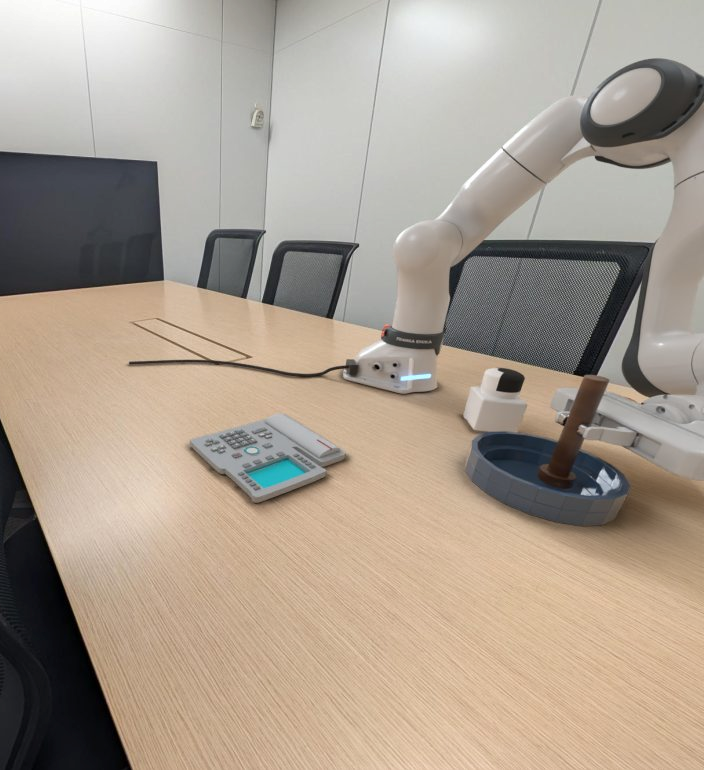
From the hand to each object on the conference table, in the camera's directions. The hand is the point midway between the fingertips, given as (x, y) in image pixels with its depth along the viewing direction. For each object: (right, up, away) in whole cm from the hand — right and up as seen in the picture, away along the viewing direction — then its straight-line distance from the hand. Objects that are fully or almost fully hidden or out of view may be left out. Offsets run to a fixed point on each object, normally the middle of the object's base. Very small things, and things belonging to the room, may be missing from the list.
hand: (570, 425), depth 53 cm
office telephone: (-39, -7, +16) cm, 43 cm away
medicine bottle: (+7, -3, +23) cm, 24 cm away
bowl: (0, -10, +5) cm, 12 cm away
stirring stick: (+1, -9, +4) cm, 9 cm away
